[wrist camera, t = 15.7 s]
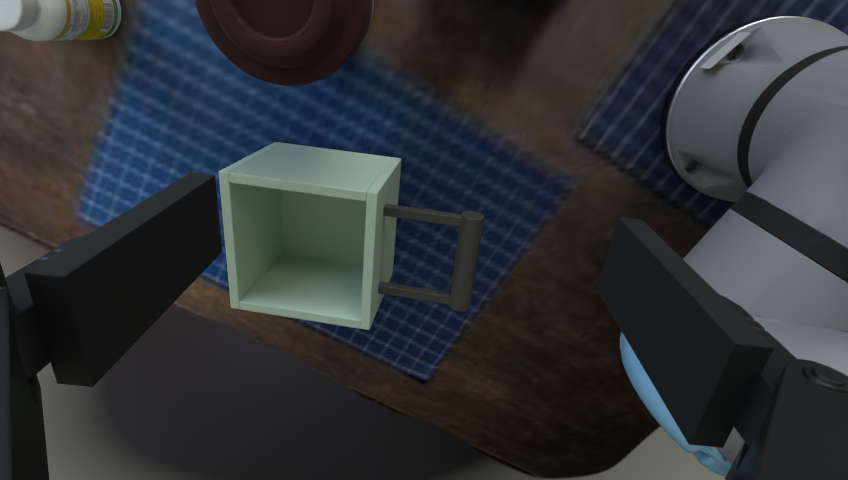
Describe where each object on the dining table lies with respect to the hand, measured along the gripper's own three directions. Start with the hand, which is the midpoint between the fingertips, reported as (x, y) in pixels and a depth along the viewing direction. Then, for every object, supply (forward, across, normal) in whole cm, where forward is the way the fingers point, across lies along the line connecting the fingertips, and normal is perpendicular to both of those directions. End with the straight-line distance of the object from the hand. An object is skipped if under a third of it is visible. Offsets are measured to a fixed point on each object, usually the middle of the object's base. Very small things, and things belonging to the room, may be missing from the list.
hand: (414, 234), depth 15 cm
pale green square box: (+28, +4, +11) cm, 30 cm away
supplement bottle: (+29, +29, -5) cm, 41 cm away
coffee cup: (+29, +9, -7) cm, 31 cm away
